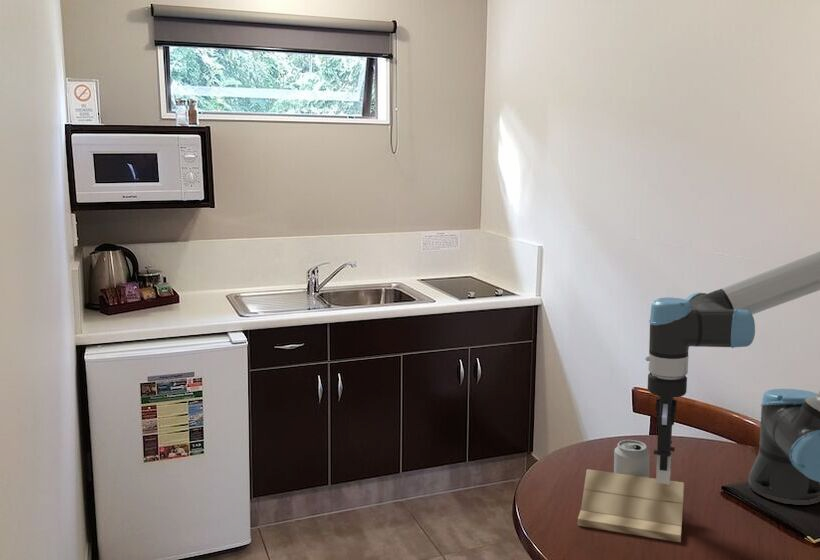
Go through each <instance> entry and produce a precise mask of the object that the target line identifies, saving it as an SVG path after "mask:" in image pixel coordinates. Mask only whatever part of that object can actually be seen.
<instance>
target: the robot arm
mask: <svg viewBox="0 0 820 560" xmlns="http://www.w3.org/2000/svg"><path fill="white" fill-rule="evenodd" d="M819 291H820V251H817V252H814V253H811V254H809V255H806V256H804V257H802V258H799V259H796V260H793V261H791V262H788V263H785V264H783V265H781V266H778V267H775V268H773V269H770V270H768V271H764V272H762V273H759V274H757V275H754V276H752V277H749V278H746V279H743V280H741V281H739V282H735V283H732V284H730V285H728V286H725V287H723V288H720V289H716V290H714V291H711V292H708V293H706V292H704V293H703V292H695V293H692V294H690V295H688V296H687V297H686V298H680V297H670V296H669V297H660V298H656V299H655V300H653V301H652V303H651V307H650V316H649V317H650V318H649V319H648V320H649V341H648V342H649V345H648V346H649V347H648V348H649V349H648V350H649V352H648V353H649V354H648V356H646V357H645V361H646V362H648V372H649V373H648V374H647V375H648V376H647V391H648V392H649V393H650V394H652V395H653V396H657V397H656V402H655V412H656V417H655V420H656V421H655V422H656V424H657V445H656V446H657V450H656V449H654V450H653V454H654V455H656V468H655V469H656V471H655V473H656V474H655V476H656V477H655V479H656V483H662V484H669V485H670V481H671V467H672V466H671V463H672V452H675V448H676V447H672V445H673V441H672V439H673V438H672V434H673V433H672V432H673V431H672V430H673V426H674V424H675V418H676V412H677V402H678V401H677V399H675V398H681V397H683V396H685V395H687V387H688V377H687V376H686V375H688V373H689V372H688V371H689V348H690V347H694V348H695V347H697V348H698V347H701V348H702V347H703V348H704V347H705V348H706V347H707V348H732V349H734V348H743V347H744V348H745V347H749V346H750V345H752V344H753V342H754V339H755V335H756V334H755V333H756V323H755V319H754V315H755V314H758V313H761V312H763V311H766V310H768V309H771V308H774V307H777V306H780V305H783V304H786V303H788V302H791V301H795V300H797V299H800V298H802V297H804V296H807V295H810V294H814V293H816V292H819ZM760 407H761V408H760V409H761V410H760V427H759V429H760V430H759V444H758V445H759V449H758V454H757V457H756V458H755V461H754V463H753V465H752V467H751V469H750V472H749V474H748V482H749V484H750V485H751V486H752V487H753V488H755V489H756V490H758V491H760V492H762V493H765V494H768V495H771V496H775V497H778V498H784V499H790V500H810V499H814V498H817V497H818V496H820V391H819V392H818V393H817V392H814V391H810V390H803V389H796V388H795V389H794V388H774V389H769V390H766V391H765V392H764V393H763V395H762V400H761V404H760Z"/></svg>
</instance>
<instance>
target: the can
mask: <svg viewBox="0 0 820 560" xmlns="http://www.w3.org/2000/svg"><path fill="white" fill-rule="evenodd" d="M647 446H648V445H646V443H644V442H642V441H639V440H636V439H622V440H620V441H619V442H617V446H616V447H615V448H614V449H613V450H614V452H613V454H614V455H613V457H614V458H613V473H619V474H626V475H633V476H641V477H648V478H650V455H651V453H650V451H649V449H647V448H648V447H647Z"/></svg>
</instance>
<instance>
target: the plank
mask: <svg viewBox="0 0 820 560" xmlns="http://www.w3.org/2000/svg"><path fill="white" fill-rule="evenodd" d="M684 491H685V482H682V481H677V480H670V485H669V484H662V483H656V477H654V478H653V477H649V478H648V477H641V476H633V475H626V474H619V473H614V472H610V471H603V470H595V469H588V468H587V469H586V472H585V479H584V485H583V493H582V500H581V506H580V511H581V510H587V511H593V512H600V513H606V514H612V515H619V516H625V517H631V518H638V519H644V520H650V521H656V522H663V523H669V524H675V525H682V526H683V508H684V507H683V506H684Z"/></svg>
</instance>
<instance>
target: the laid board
mask: <svg viewBox="0 0 820 560" xmlns="http://www.w3.org/2000/svg"><path fill="white" fill-rule="evenodd" d="M577 526H578V527H585V528H591V529H596V530H604V531H610V532H616V533H620V534H621V533H622V534H627V535H634V536H640V537H645V538H652V539H659V540H662V541H663V540H664V541H670V542H676V543H681V542H682V528H683V527H682V526H683V524H682V525H675V524H669V523H663V522H656V521H650V520H644V519H638V518H631V517H625V516H619V515H612V514H606V513H600V512H593V511H587V510H581V509H580V511H579V514H578V517H577Z"/></svg>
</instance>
